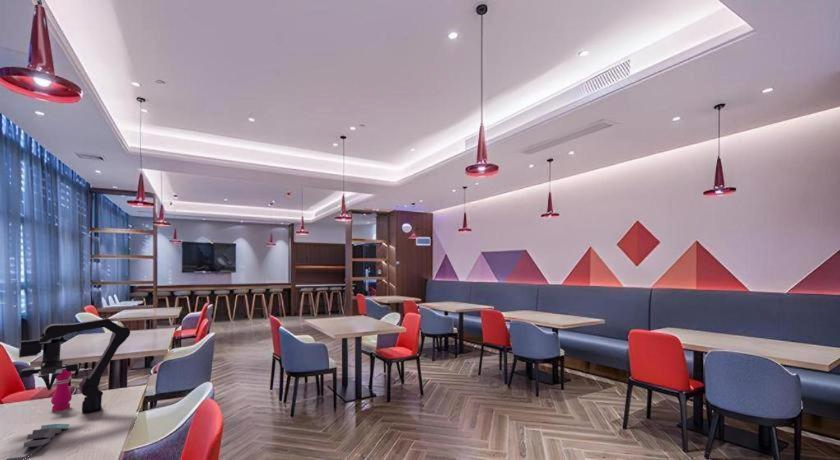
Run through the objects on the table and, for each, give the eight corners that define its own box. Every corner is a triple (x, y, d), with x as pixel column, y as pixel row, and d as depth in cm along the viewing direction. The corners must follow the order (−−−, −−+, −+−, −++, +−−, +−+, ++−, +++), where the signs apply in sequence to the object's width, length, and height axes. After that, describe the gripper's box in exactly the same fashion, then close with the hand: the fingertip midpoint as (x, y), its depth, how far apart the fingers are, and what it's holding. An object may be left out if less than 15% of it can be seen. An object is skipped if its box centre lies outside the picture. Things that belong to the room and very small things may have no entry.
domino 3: (33, 439, 151) (24, 442, 142) (50, 437, 153) (42, 440, 145) (32, 444, 150) (23, 447, 142) (49, 442, 152) (41, 445, 144)
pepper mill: (74, 407, 189) (77, 364, 191) (56, 412, 182) (59, 367, 184) (65, 405, 192) (67, 362, 193) (46, 410, 185) (49, 366, 186)
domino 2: (38, 434, 155) (27, 434, 147) (55, 432, 157) (45, 432, 149) (37, 439, 154) (26, 439, 146) (54, 437, 156) (44, 437, 148)
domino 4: (46, 430, 160) (33, 430, 151) (61, 428, 161) (49, 428, 153) (45, 434, 159) (31, 434, 150) (60, 432, 161) (48, 432, 152)
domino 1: (25, 445, 147) (6, 458, 137) (42, 444, 148) (24, 456, 138) (25, 450, 147) (6, 463, 137) (42, 448, 148) (24, 461, 138)
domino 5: (54, 425, 164) (41, 425, 156) (69, 424, 166) (57, 423, 157) (53, 429, 163) (40, 429, 155) (68, 428, 165) (56, 428, 156)
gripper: (17, 360, 163) (15, 399, 162) (77, 353, 174) (75, 390, 173) (23, 355, 172) (20, 392, 171) (79, 349, 183) (78, 384, 182)
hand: (49, 389), depth 174 cm, fingers closed
